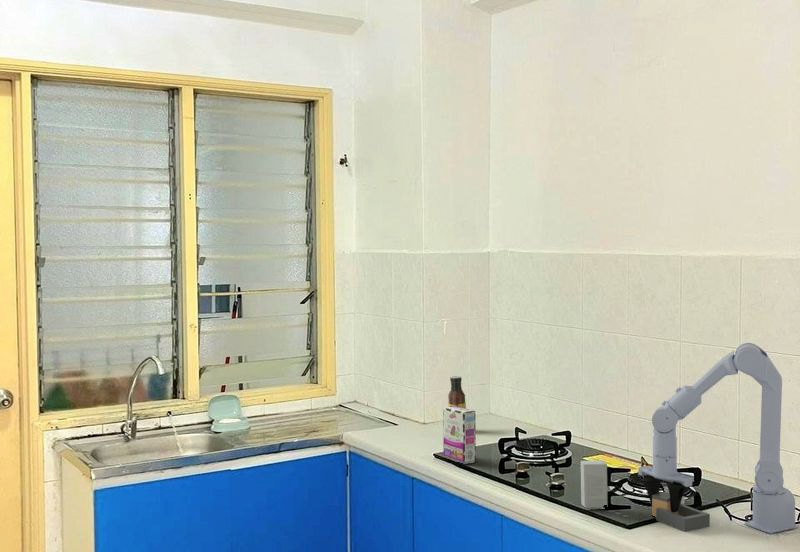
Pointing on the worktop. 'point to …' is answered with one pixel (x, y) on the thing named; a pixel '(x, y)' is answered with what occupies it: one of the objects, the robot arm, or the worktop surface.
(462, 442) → the candy bar box
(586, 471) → the skincare box
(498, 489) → the worktop surface
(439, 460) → the worktop surface
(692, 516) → the socket
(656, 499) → the plug
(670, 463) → the robot arm
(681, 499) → the clip
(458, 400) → the sauce bottle
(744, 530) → the worktop surface
